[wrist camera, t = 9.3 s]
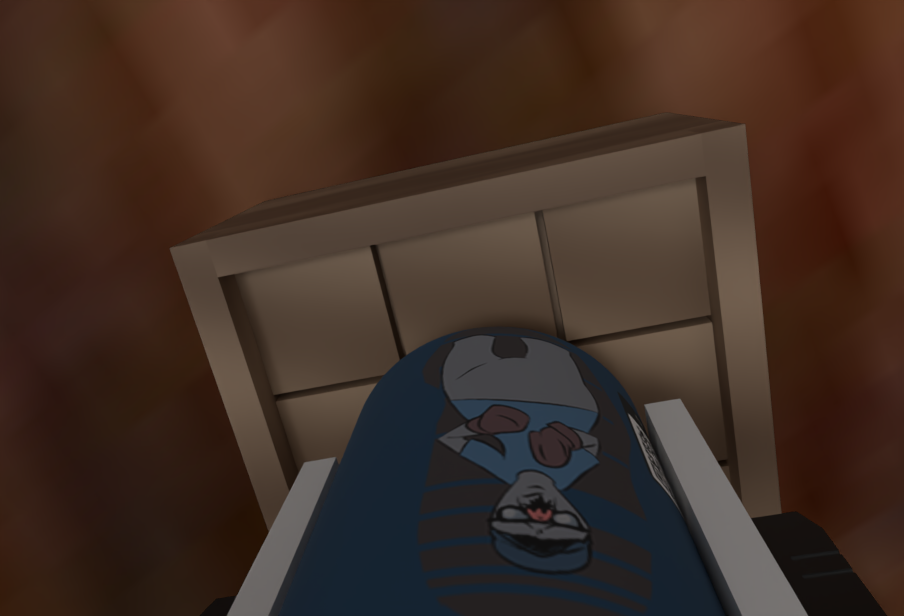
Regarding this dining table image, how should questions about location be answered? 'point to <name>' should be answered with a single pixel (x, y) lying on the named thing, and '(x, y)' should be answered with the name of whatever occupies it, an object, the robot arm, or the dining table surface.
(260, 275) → the wooden crate
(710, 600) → the soda can
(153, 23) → the dining table surface
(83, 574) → the dining table surface
